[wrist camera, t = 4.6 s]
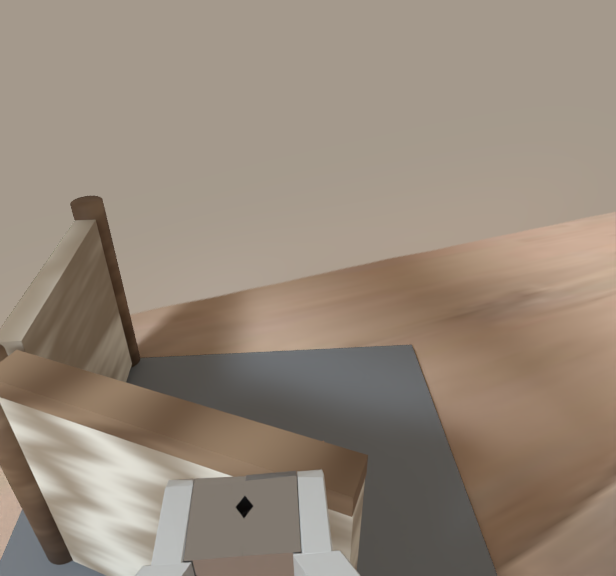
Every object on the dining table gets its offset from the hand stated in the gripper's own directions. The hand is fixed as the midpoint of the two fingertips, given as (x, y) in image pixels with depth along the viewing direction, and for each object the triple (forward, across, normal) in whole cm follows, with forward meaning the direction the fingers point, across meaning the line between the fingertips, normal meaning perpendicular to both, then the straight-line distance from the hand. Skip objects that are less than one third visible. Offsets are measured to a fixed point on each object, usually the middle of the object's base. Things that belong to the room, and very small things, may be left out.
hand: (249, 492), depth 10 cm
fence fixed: (+24, +14, +25) cm, 37 cm away
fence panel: (+10, +5, +24) cm, 26 cm away
